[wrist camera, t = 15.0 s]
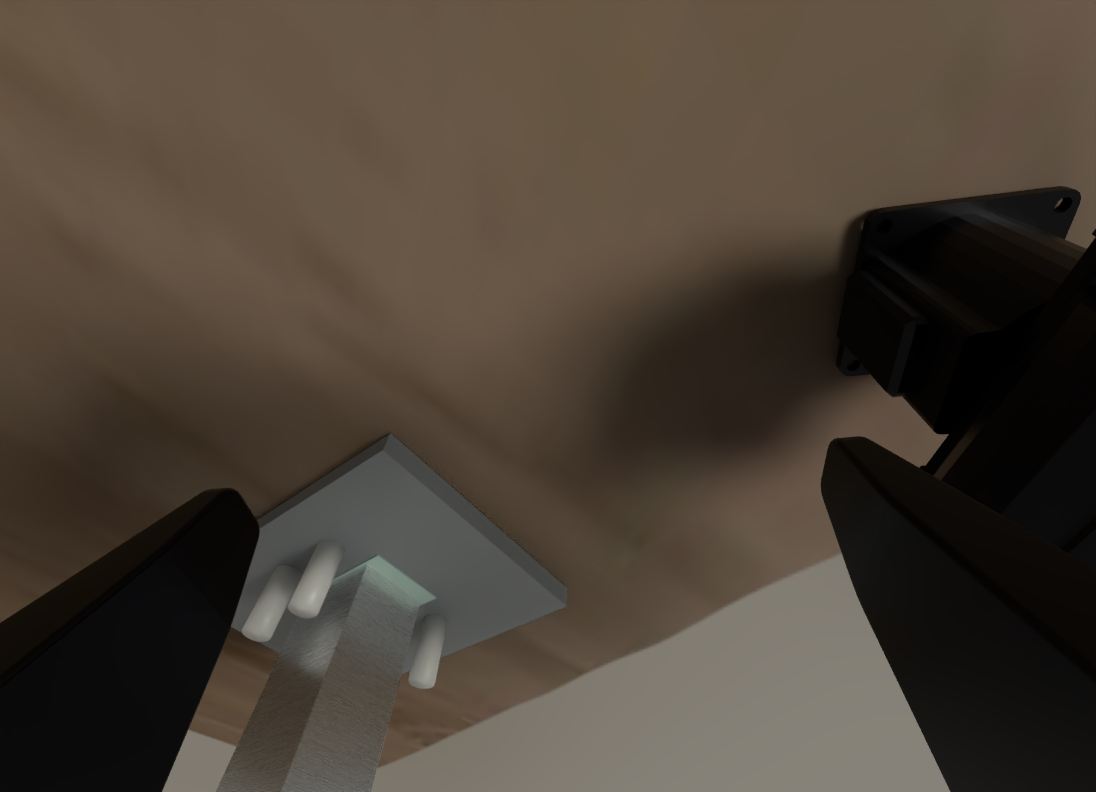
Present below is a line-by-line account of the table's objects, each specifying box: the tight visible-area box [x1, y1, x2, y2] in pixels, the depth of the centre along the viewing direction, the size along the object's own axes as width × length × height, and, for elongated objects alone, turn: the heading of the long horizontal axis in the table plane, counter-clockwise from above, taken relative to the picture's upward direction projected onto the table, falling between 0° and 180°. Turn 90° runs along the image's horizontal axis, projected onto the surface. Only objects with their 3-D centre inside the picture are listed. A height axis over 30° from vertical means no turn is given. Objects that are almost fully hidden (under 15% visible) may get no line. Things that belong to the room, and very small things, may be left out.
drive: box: [216, 565, 420, 792], centre depth 25 cm, size 5×4×11 cm
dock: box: [231, 433, 567, 689], centre depth 29 cm, size 18×14×5 cm
